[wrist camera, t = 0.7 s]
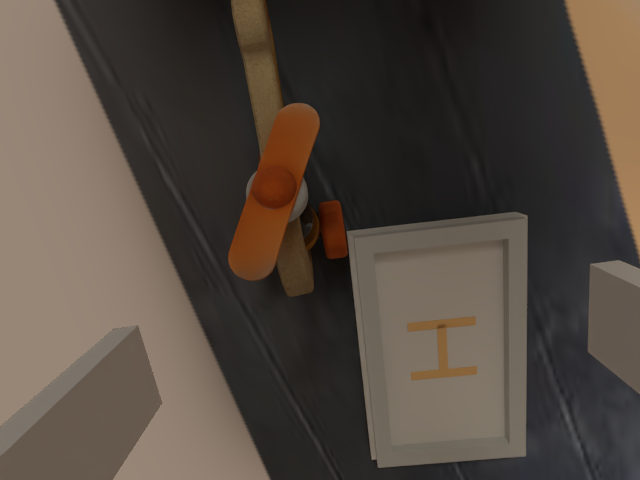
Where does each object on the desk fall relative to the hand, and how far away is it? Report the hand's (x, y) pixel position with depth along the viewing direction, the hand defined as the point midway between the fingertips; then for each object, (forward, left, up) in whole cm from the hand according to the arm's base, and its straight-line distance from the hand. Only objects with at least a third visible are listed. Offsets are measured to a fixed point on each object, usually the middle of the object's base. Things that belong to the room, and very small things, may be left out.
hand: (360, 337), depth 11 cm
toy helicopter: (-5, -4, -23) cm, 24 cm away
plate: (+13, +8, -23) cm, 28 cm away
